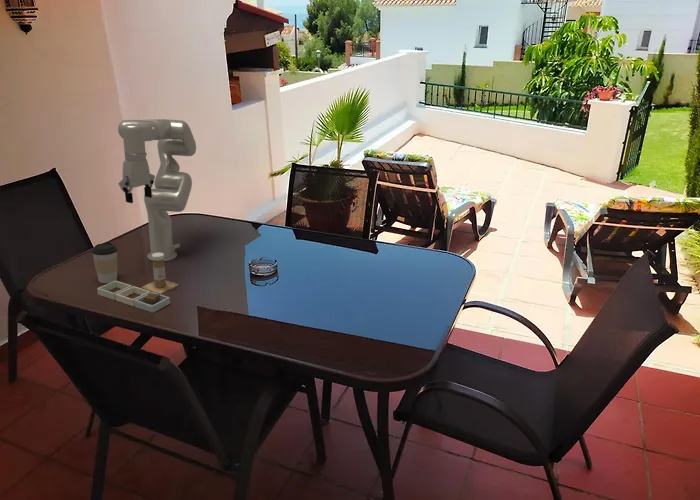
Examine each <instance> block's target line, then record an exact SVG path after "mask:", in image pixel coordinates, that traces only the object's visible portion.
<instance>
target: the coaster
mask: <svg viewBox="0 0 700 500" xmlns="http://www.w3.org/2000/svg"><path fill="white" fill-rule="evenodd" d="M179 286H180V284H179V283H176V282H172V281H170V280H166V286H164V287H155V286H154V280H153V281H151V282H149V283H148V284H145V285H143V286H141V287H140V288H141V289H144V290H148V291H150V292H154V293H157V294H160V295H164V293H167V292H169V291H170V290H172V289H175V288H176V287H179Z"/></svg>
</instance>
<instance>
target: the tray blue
mask: <svg viewBox="0 0 700 500" xmlns="http://www.w3.org/2000/svg"><path fill="white" fill-rule="evenodd" d="M151 293H154V292H151ZM154 294H157V293H154ZM147 295H148V294H147ZM147 295H145V296H147ZM145 296H143V297H141V298H139V299H137V300H135V306H134V307H135V308H137V309H140V310H144V311H147V312H149V313H153V314H154V313H155V312H157V311H159V310H162V309H163V308H165V307H167V306H168V304H169V305H170V304H171V298H170V296H166V295H164V294H161V295H160V302H158V303H156V304H154V305H149V304H146V303H144V297H145ZM166 305H167V306H166ZM164 306H165V307H164Z"/></svg>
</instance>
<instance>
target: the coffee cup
mask: <svg viewBox="0 0 700 500" xmlns="http://www.w3.org/2000/svg"><path fill="white" fill-rule="evenodd" d="M91 249H92V250H91V251H92V252H91V253H92V255H93V262H94V268H95V272H96V274H97V279H98V282H99V283H102V284H109V283H111V282H113V281H118V255H117V254H118V253H117V252H118V249H117V246H116V245H113V243H112V242H109V241H108V242H103V243H98V244H96V245H95V246H93V248H91Z"/></svg>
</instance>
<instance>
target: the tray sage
mask: <svg viewBox="0 0 700 500" xmlns="http://www.w3.org/2000/svg"><path fill="white" fill-rule="evenodd" d="M131 287H133V285H131V284H129V283H125V282H122V281H118V280H116V281H113V282H111V283H105V284H104V285H102V286H99V287H97V288H96V289H97V295H98V296H101V297H103V298H104V297H105V298H108V299H110V300H113V301H115V300H116V294H117V293H120V292H122V291H124V290H126V289H128V288H131ZM116 288H117V289H120V290H116V291H115V292H112V290H113V289H116Z"/></svg>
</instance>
